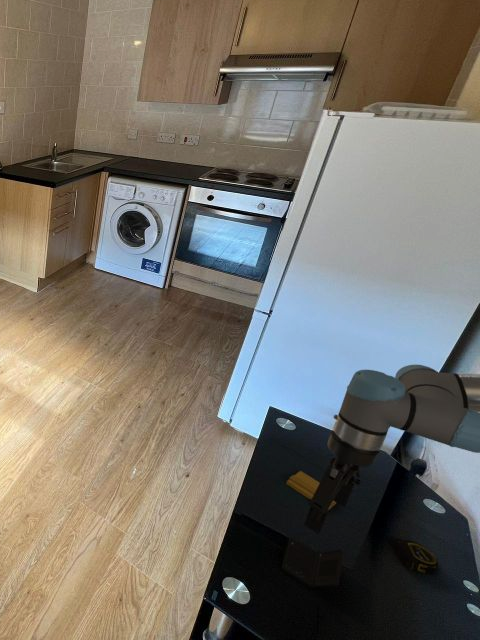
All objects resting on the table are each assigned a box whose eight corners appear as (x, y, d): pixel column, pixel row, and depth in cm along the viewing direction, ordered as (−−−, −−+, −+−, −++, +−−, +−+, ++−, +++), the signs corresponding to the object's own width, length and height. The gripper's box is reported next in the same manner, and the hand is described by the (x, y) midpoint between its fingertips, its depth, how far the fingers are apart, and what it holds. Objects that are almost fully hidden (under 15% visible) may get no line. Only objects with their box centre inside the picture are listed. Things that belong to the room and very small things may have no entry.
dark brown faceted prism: (280, 530, 103) (320, 524, 96) (303, 554, 101) (346, 551, 94) (278, 572, 94) (322, 569, 88) (303, 599, 93) (350, 598, 86)
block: (340, 499, 114) (342, 494, 113) (327, 511, 110) (329, 506, 110) (299, 473, 122) (301, 468, 122) (286, 483, 119) (287, 478, 118)
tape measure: (386, 544, 102) (391, 533, 100) (422, 554, 99) (427, 543, 98) (403, 571, 95) (409, 559, 94) (441, 582, 93) (447, 571, 92)
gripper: (355, 410, 94) (328, 480, 101) (307, 449, 82) (280, 526, 89) (399, 430, 88) (367, 504, 95) (354, 475, 76) (321, 556, 83)
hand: (325, 515), depth 92 cm, fingers open, 13 cm apart
